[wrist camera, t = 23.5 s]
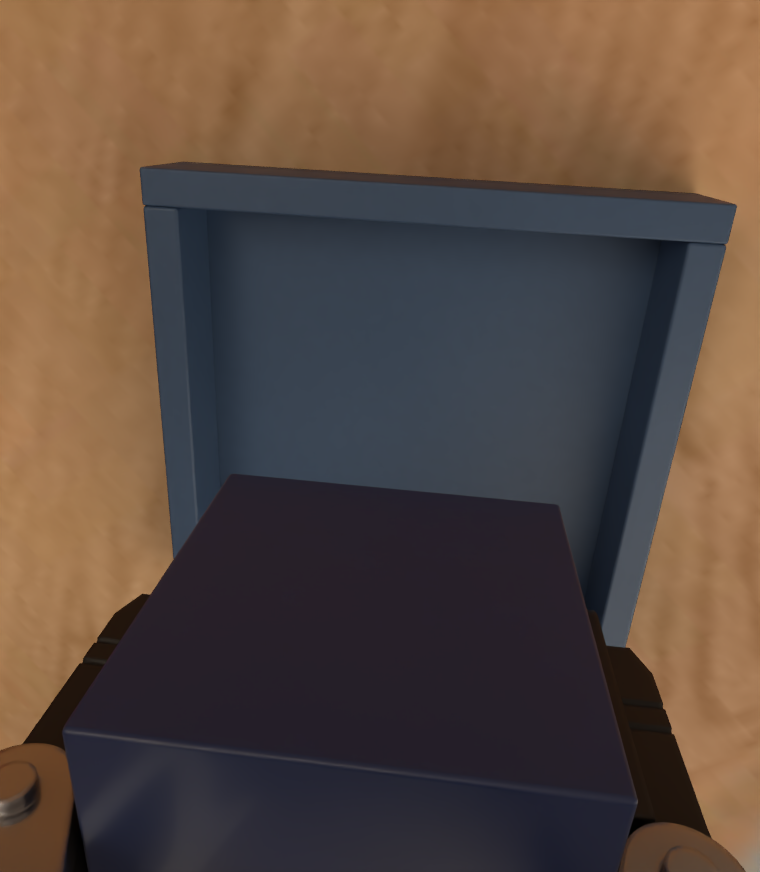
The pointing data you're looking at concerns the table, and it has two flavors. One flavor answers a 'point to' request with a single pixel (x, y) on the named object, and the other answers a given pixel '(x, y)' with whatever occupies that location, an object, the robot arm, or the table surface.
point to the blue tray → (433, 343)
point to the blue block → (355, 695)
